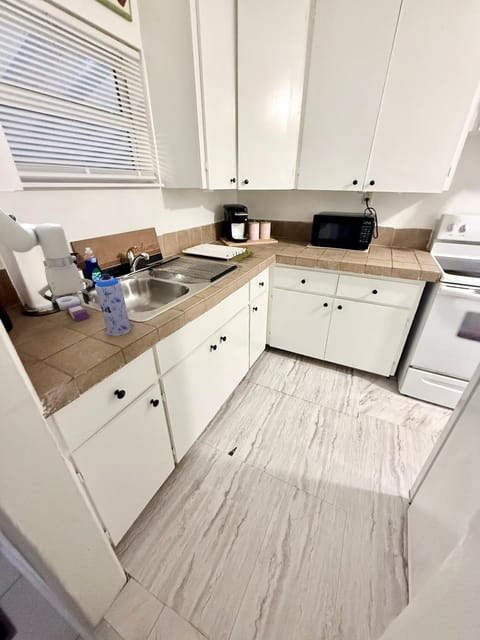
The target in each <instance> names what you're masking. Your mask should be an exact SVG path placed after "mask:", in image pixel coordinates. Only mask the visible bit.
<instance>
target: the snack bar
mask: <svg viewBox="0 0 480 640" xmlns="http://www.w3.org/2000/svg"><path fill="white" fill-rule="evenodd" d="M66 308H67V313H68V314H69V315H70V317H71V318H73V320H75V321H76V322H77V323H78V322H82V321H85V320H88V319H89V318H90V317H89V314H88V311H87V310H86V309H85V308H84V307H83V306H82V305H80V304H79V305H78V304H74V305H71V306H67V307H66Z"/></svg>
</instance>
